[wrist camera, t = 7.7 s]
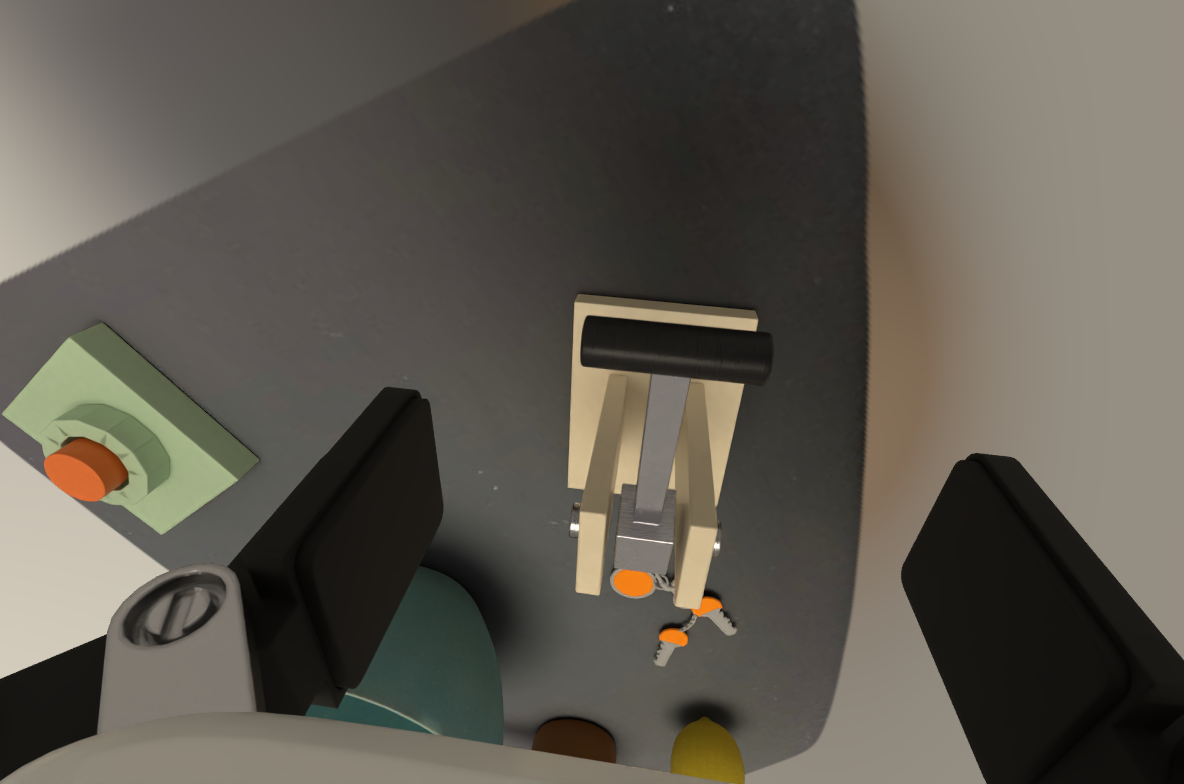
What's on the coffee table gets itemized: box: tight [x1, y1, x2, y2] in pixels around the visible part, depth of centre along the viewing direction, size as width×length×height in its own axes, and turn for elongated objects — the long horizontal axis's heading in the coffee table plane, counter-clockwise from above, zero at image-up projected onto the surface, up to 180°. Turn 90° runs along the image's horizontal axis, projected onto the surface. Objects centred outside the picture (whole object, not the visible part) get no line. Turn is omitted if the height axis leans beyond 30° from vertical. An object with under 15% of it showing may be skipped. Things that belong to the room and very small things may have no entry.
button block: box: [2, 323, 260, 535], centre depth 35 cm, size 12×10×4 cm
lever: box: [580, 315, 774, 575], centre depth 19 cm, size 12×5×2 cm, turn 177°
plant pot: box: [305, 566, 504, 745], centre depth 37 cm, size 18×18×12 cm
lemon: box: [671, 717, 745, 784], centre depth 42 cm, size 6×6×8 cm
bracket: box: [568, 294, 758, 609], centre depth 26 cm, size 12×9×12 cm
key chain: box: [610, 542, 737, 666], centre depth 38 cm, size 13×7×1 cm, turn 20°
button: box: [44, 437, 129, 501], centre depth 33 cm, size 4×4×2 cm
